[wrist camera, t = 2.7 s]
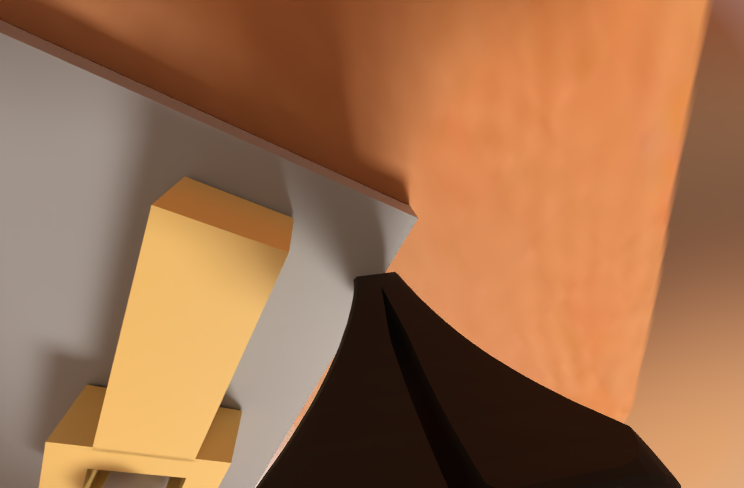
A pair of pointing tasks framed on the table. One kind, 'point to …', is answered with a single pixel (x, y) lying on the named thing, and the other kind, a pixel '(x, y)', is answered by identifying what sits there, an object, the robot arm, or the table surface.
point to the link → (176, 346)
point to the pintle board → (124, 240)
